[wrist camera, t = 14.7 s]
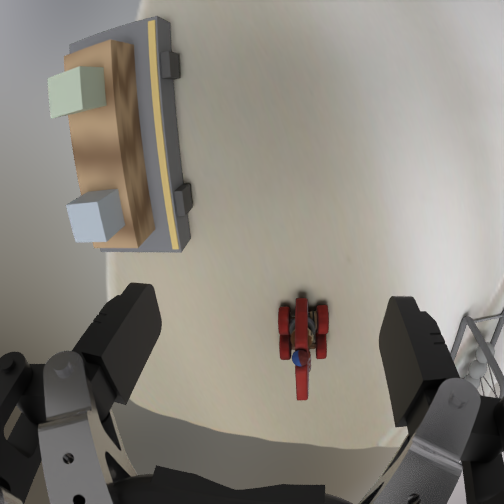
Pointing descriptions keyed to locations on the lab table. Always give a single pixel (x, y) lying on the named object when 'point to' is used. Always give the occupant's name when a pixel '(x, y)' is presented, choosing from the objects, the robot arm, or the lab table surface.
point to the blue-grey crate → (96, 216)
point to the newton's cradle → (481, 353)
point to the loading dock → (156, 129)
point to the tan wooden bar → (113, 141)
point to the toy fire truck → (302, 339)
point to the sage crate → (76, 91)
